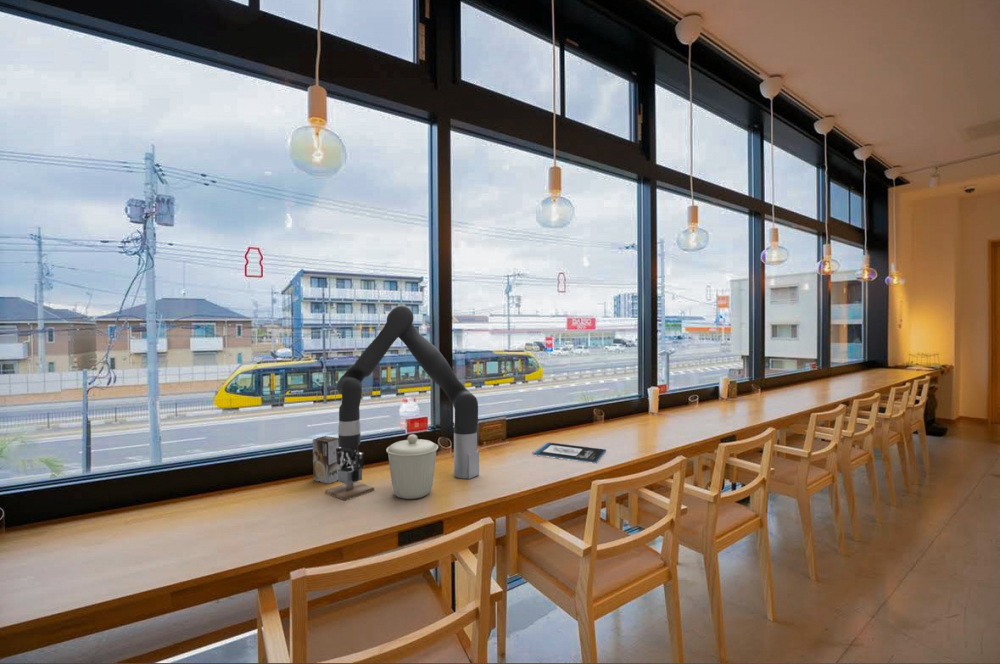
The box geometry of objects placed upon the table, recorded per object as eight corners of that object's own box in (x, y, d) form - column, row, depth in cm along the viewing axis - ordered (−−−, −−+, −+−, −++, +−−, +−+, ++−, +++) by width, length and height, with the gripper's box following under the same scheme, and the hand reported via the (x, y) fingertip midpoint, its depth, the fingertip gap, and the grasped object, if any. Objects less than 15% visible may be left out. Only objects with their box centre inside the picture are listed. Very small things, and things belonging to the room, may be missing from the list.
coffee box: (342, 479, 170) (341, 438, 169) (328, 484, 164) (328, 441, 164) (325, 475, 174) (325, 435, 174) (312, 480, 168) (311, 439, 168)
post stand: (374, 490, 158) (374, 473, 158) (344, 500, 148) (344, 483, 148) (354, 483, 165) (354, 467, 165) (325, 492, 155) (325, 476, 155)
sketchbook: (596, 465, 187) (596, 460, 187) (531, 456, 200) (531, 452, 200) (606, 451, 207) (606, 447, 207) (546, 445, 220) (546, 440, 220)
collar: (362, 479, 157) (361, 468, 157) (347, 484, 152) (347, 473, 152) (352, 476, 161) (352, 465, 161) (337, 481, 156) (337, 470, 156)
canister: (427, 506, 143) (427, 442, 143) (377, 501, 147) (376, 439, 147) (445, 486, 161) (445, 429, 161) (399, 483, 165) (399, 427, 164)
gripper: (370, 433, 155) (370, 480, 155) (347, 427, 164) (347, 472, 164) (352, 437, 149) (352, 486, 149) (328, 431, 158) (329, 477, 158)
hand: (349, 478), depth 156 cm, fingers closed on collar, 6 cm apart
